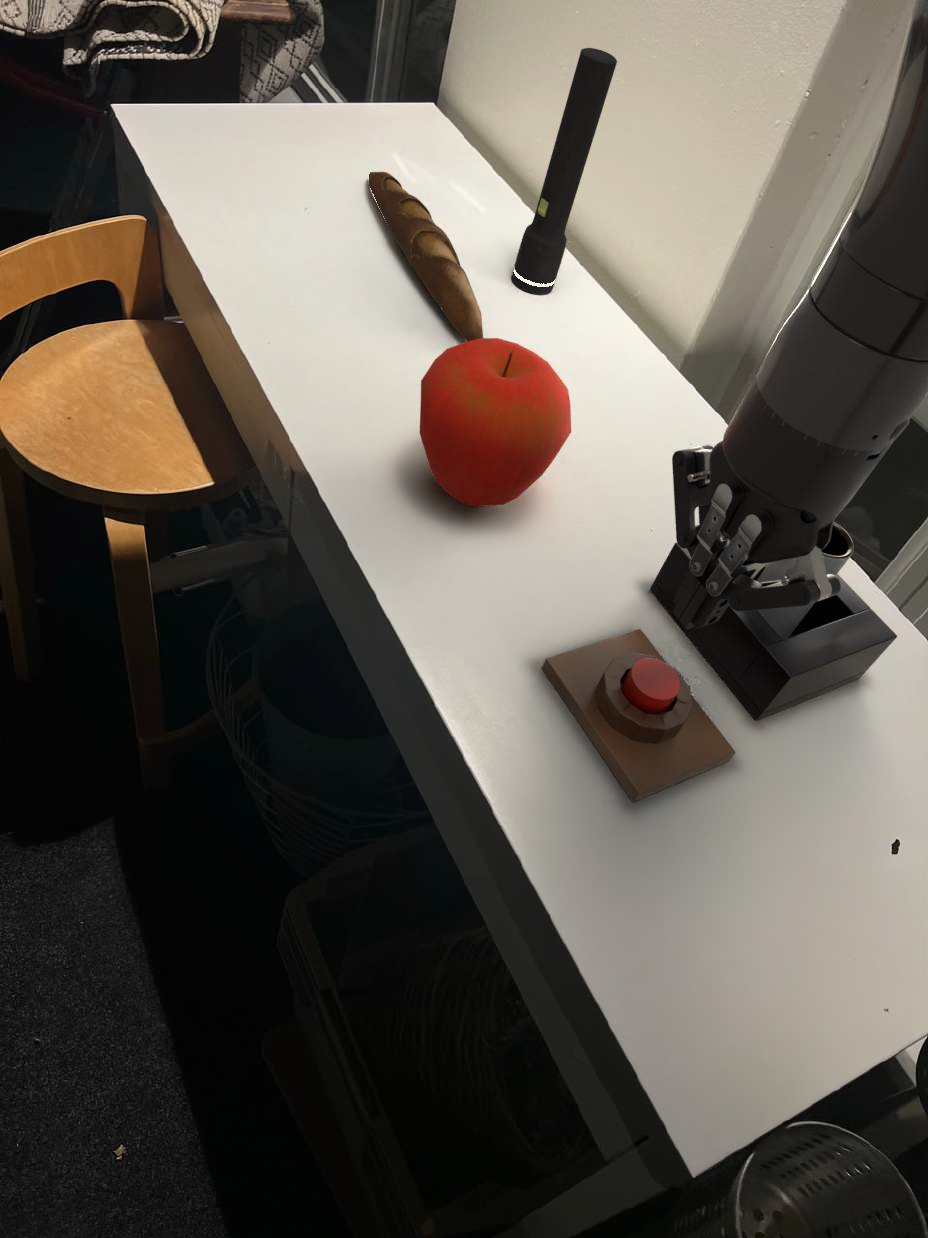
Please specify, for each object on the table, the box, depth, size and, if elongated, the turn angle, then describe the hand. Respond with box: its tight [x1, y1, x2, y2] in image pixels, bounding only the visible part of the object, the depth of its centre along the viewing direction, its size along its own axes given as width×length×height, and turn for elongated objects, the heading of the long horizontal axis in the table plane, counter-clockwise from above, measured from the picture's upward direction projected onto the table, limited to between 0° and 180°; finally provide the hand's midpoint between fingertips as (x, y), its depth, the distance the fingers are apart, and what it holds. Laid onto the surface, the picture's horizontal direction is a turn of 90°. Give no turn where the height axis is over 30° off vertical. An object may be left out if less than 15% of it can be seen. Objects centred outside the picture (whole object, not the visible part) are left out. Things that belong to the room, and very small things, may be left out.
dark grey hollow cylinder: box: [757, 521, 855, 640], centre depth 70 cm, size 4×4×10 cm
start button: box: [623, 658, 680, 714], centre depth 63 cm, size 4×4×2 cm
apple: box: [419, 337, 572, 508], centre depth 73 cm, size 12×12×14 cm
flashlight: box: [510, 47, 618, 296], centre depth 96 cm, size 5×24×5 cm
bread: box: [368, 171, 484, 342], centre depth 100 cm, size 38×5×5 cm, turn 21°
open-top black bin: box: [649, 541, 898, 721], centre depth 72 cm, size 14×12×6 cm
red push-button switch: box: [541, 628, 736, 803], centre depth 65 cm, size 12×9×3 cm
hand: (690, 618), depth 58 cm, fingers closed
